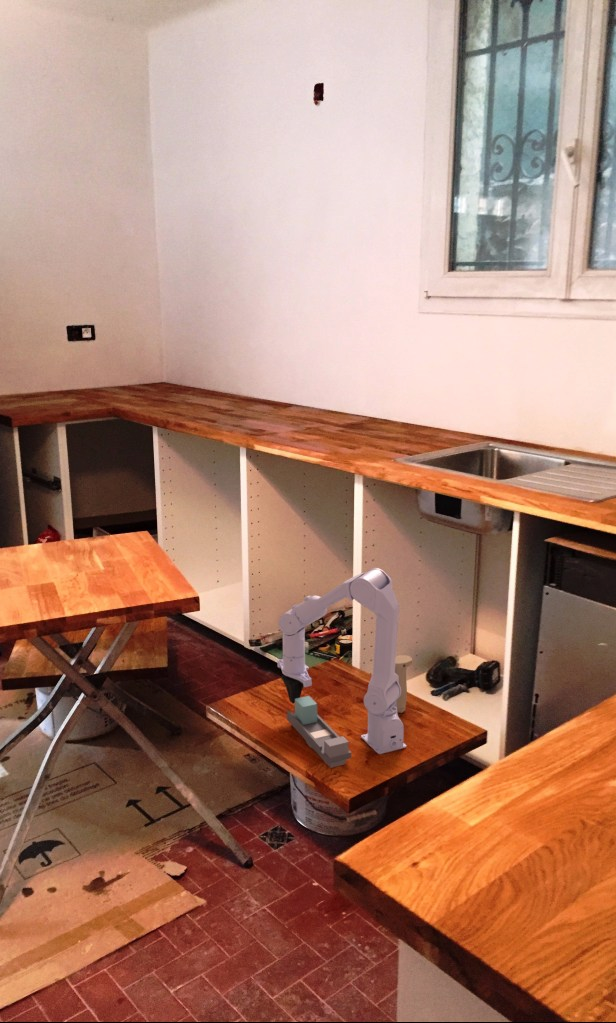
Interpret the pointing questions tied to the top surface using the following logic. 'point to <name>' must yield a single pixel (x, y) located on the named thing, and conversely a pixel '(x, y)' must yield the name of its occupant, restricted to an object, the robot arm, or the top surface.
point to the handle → (402, 680)
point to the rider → (306, 710)
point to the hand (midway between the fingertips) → (294, 701)
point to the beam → (323, 740)
